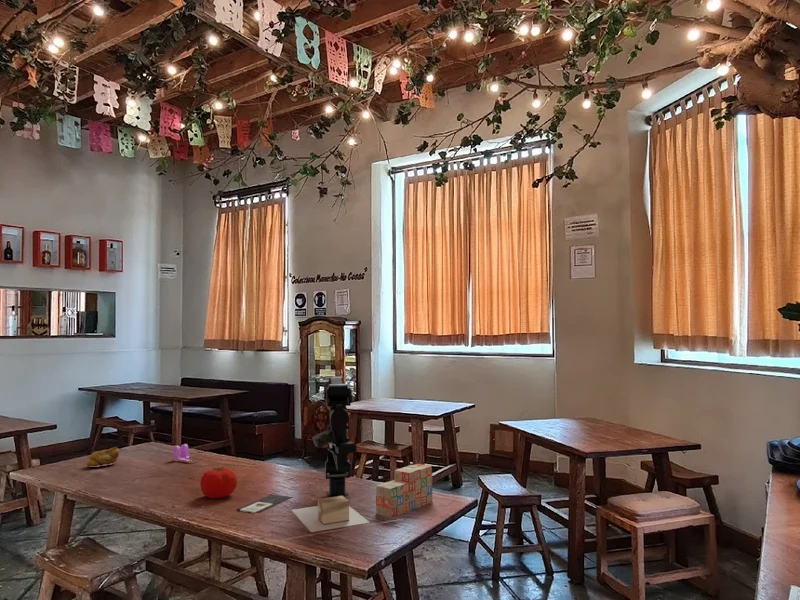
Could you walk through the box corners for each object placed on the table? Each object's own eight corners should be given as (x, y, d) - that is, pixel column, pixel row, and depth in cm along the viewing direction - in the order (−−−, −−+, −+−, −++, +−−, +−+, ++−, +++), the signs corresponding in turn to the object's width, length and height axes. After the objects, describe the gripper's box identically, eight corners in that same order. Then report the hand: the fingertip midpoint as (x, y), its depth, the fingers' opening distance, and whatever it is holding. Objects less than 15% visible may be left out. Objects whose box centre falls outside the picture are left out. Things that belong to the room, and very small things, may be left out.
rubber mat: (291, 511, 185) (291, 509, 185) (344, 503, 193) (344, 501, 193) (311, 533, 164) (311, 532, 164) (369, 523, 172) (369, 522, 172)
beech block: (323, 504, 170) (323, 525, 170) (349, 500, 174) (349, 520, 173) (317, 499, 176) (317, 519, 176) (342, 495, 179) (342, 515, 179)
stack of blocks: (390, 519, 176) (390, 478, 176) (375, 515, 180) (375, 475, 180) (432, 502, 192) (432, 465, 193) (418, 499, 196) (417, 462, 197)
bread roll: (90, 470, 245) (91, 451, 246) (81, 467, 251) (81, 448, 252) (121, 464, 255) (121, 446, 256) (111, 461, 261) (111, 444, 262)
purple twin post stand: (172, 461, 261) (172, 445, 261) (183, 458, 266) (183, 443, 266) (190, 464, 254) (190, 448, 254) (201, 461, 258) (201, 446, 259)
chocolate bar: (292, 497, 199) (259, 512, 183) (292, 499, 199) (259, 515, 183) (271, 494, 203) (236, 509, 187) (271, 497, 203) (236, 512, 187)
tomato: (205, 492, 208) (205, 464, 209) (240, 492, 208) (240, 463, 209) (194, 502, 197) (194, 471, 197) (231, 501, 197) (231, 470, 198)
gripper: (306, 420, 194) (307, 467, 193) (323, 428, 177) (323, 480, 177) (338, 417, 199) (338, 463, 198) (357, 425, 182) (357, 475, 181)
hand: (339, 470), depth 188 cm, fingers closed
